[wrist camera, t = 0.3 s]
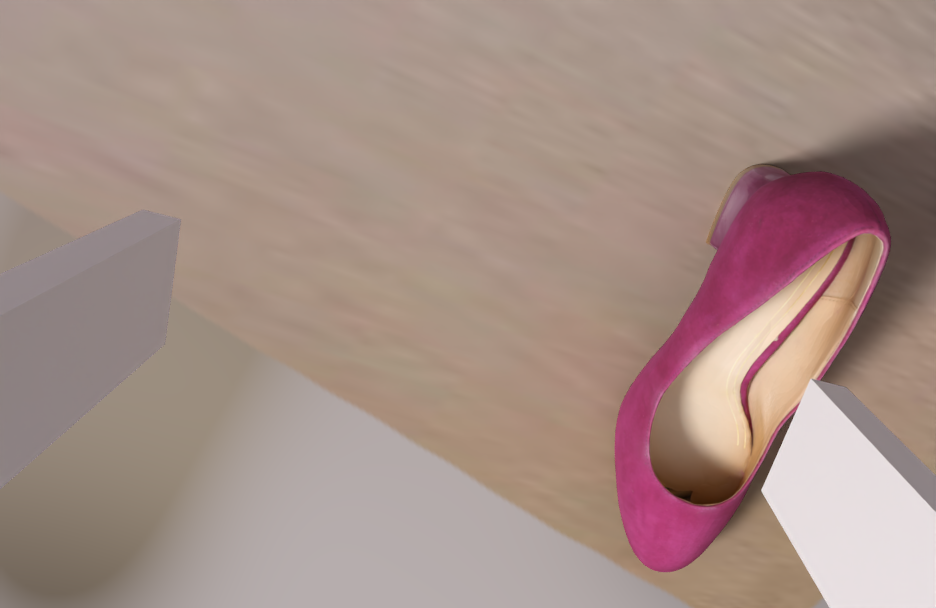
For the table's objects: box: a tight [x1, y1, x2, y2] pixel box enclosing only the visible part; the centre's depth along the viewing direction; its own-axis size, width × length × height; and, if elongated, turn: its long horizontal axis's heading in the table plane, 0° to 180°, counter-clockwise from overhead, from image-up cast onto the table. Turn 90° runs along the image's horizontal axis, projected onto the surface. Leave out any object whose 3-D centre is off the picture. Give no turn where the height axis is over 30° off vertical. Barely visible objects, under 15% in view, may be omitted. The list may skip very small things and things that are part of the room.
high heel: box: [615, 164, 891, 572], centre depth 39 cm, size 26×9×12 cm, turn 164°
